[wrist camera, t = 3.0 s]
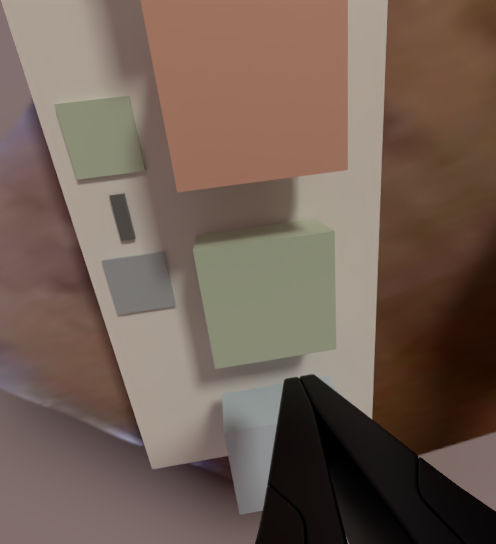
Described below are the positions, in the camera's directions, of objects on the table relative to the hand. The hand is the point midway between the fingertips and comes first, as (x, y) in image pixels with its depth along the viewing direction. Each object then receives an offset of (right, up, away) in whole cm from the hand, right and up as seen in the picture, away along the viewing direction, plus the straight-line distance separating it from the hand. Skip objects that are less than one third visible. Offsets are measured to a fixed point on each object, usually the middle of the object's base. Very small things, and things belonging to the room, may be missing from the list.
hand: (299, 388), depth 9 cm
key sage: (-1, +3, +7) cm, 8 cm away
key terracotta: (-1, +10, +3) cm, 10 cm away
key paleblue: (0, -5, +9) cm, 10 cm away
